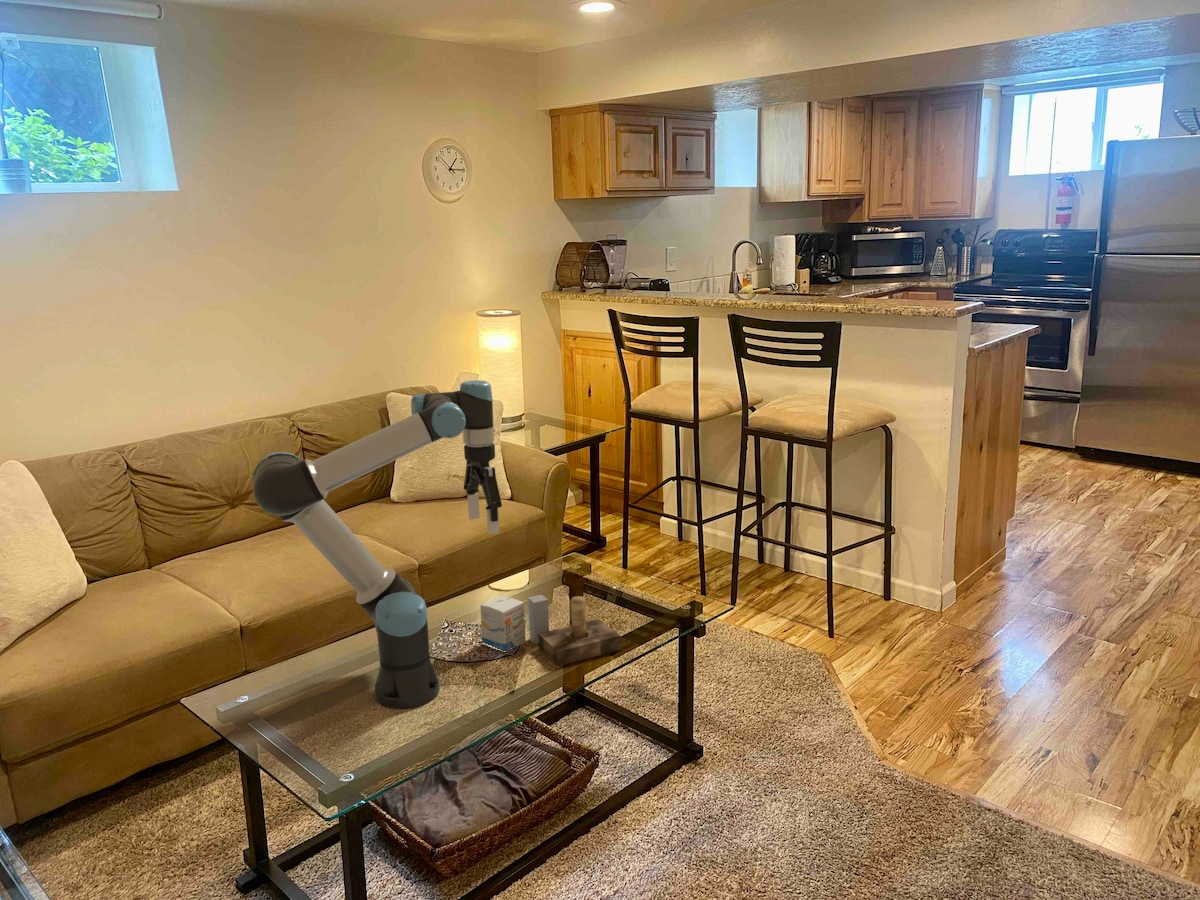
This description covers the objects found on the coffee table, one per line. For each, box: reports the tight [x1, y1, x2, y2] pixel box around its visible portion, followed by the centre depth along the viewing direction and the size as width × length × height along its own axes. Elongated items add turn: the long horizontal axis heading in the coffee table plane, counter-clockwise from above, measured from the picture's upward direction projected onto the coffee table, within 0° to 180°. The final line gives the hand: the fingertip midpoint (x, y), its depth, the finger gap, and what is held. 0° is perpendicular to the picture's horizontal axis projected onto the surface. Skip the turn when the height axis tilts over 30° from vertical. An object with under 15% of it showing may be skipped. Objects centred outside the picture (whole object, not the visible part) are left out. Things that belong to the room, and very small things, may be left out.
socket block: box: [538, 618, 622, 667], centre depth 232 cm, size 18×12×4 cm, turn 118°
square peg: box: [527, 594, 550, 646], centre depth 237 cm, size 4×4×12 cm
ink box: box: [480, 595, 527, 651], centre depth 235 cm, size 9×8×12 cm
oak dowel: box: [570, 595, 587, 639], centre depth 231 cm, size 4×4×14 cm
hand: (483, 525), depth 223 cm, fingers open, 13 cm apart
